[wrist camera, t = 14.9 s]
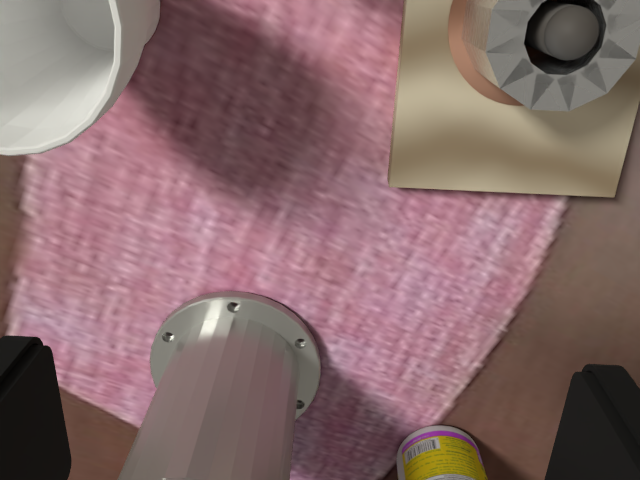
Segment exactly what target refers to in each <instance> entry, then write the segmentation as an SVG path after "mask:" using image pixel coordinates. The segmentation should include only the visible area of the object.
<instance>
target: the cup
mask: <svg viewBox="0 0 640 480" xmlns="http://www.w3.org/2000/svg"><path fill="white" fill-rule="evenodd" d="M159 18H160V0H0V154H1V155H7V156H15V155H27V154H39V153H44V152H46V151H49V150H52V149H54V148H57V147H59V146H62V145H65V144H67V143H70V142H72V141H73V140H74V139H75V138H77V137H78V136H79V135H80V134H82V133H83V132H84V131H86V130H87V129H88V128H89V127H91V126H92V125H93V124H94V123H96V122H97V121H98V120H99V119H100V118H101V117H102V116H103V115H104V114H105V113H106V112H107V111H108V110H109V109H110V108H111V107H112V106H113V105H114V103H115V102H116V100H117V99H118V97H119V96H120V94H121V93H122V91H123V90H124V88H125V87H126V86H127V84H128V82H129V81H130V79H131V77H132V75H133V73H134V71H135V69H136V68H137V66H138V63H139V60H140V57H141V54H142V51H143V48H144V45H145V44H146V43H147V42H148V41H149V40H150V38H151V37H152V35H153V34H154V32H155V30H156V27H157V24H158V21H159Z"/></svg>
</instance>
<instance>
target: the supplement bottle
mask: <svg viewBox="0 0 640 480" xmlns="http://www.w3.org/2000/svg"><path fill="white" fill-rule="evenodd" d="M396 462H397V473H398V480H488V479H487V476H486V473H485V469H484V466H483V463H482V459H481V456H480V453H479V450H478V448H477V445H476V444H475V442H474V441H473V439H472V438H471V437H470V436H469V435H468V434H466V433H465V432H463V431H462V430H460V429H457V428H455V427H451V426H443V425H436V426H428V427H424V428H421V429H419V430H417V431H415V432H413V433H412V434H410V435H409V436H408V437H407V438H406V439H405V440H404V441H403V442H402V444H401V445H400V447H399V449H398V452H397V459H396Z"/></svg>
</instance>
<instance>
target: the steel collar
mask: <svg viewBox="0 0 640 480" xmlns="http://www.w3.org/2000/svg"><path fill="white" fill-rule="evenodd" d="M544 1H546V0H467V2H466V7H465V15H464V22H463V30H462V41H463V43H464V46H465V48H466V51H467V53H468V55H469V58H470V60H471V63H472V65H473V68H474V69H475V70H476V71H477V72H479V73H480V74H481V75H483V76H484V77H485V78H487V79H488V80H489V81H491V82H492V83H493V84H494V85H496V86H497V87H498V88H500V89H501V90H503V91H504V92H506V93H507V94H509V95H510V96H511V97H513V98H514V99H516V100H517V101H519V102H520V103H521V104H523V105H524V106H526V107H527V108H529V109H530V110H550V111H571V110H573V109H575V108H577V107H579V106H581V105H584V104H586V103H588V102H590V101H592V100H594V99H596V98H598V97H601V96H603V95H605V94H607V93H608V92H609V91H610V89H611V88H612V87H613V86H614V85H615V83H616V82H617V81H618V80H619V79H620V78H621V76H622V75H623V74H624V73H625V72H626V70H627V69H628V68H629V67H630V66H631V64H632V63H633V62H634V61H635V60H636V57H637V53H638V49H639V45H640V0H557V2H560V3H566V4H572V5H578V6H582V7H585V8H587V9H589V10H590V11H591V12H592V13H593V14H594V15H595V16H596V18H597V21H598V24H599V35H598V39H597V41H596V43H595V45H594V46H593V48H592V49H591V50H590V51H589V52H588V53H587V54H585V55H584V56H582V57H580V58H578V59H574V60H561V59H558V58H555V57H553V56H550V55H548V54H546V53H543V52H540V53H538V54H536V55H534V56H532V57H529V56H528V54H527V51H526V48H525V46H524V40H525V34H526V29H527V23H528V21H529V19H530V18H531V17H532V15H533V14H534V13H535V11H536V10H537V8H538V7H539V6H540V4H541V3H542V2H544Z"/></svg>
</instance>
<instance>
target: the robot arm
mask: <svg viewBox="0 0 640 480" xmlns="http://www.w3.org/2000/svg"><path fill="white" fill-rule="evenodd" d="M233 302H235V303H236V304H235V303H233ZM150 368H151V375H152V378H153V381H154V384H155V387H156V388H157V389H156V392H155V394H154V396H153V399H152V401H151V403H150V406H149V408H148V410H147V413H146V415H145V417H144V420H143V422H142V424H141V427H140V429H139V431H138V434H137V436H136V438H135V441H134V443H133V445H132V448H131V450H130V452H129V455H128V457H127V459H126V462H125V464H124V466H123V469H122V471H121V473H120V476H119V478H118V480H290V471H291V460H292V449H293V439H294V428H295V420H296V419H297V418H298V417H300V416H301V415H302V414H303V413H304V412H305V411H306V410H307V408H308V407H309V406H310V404H311V403H312V401H313V400H314V397H315V395H316V393H317V390H318V388H319V382H320V376H321V360H320V355H319V349H318V347H317V344H316V342H315V340H314V337H313V335H312V334H311V332H310V331H309V329H308V328H307V327H306V325H305V324H304V323H303V322H302V321H301V320H300V319H299V318H298V317H297V316H296V315H295V314H294V313H293V312H291V311H290V310H288V309H287V308H285V307H284V306H282V305H281V304H279V303H277V302H275V301H273V300H270V299H268V298H266V297H263V296H259V295H255V294H252V293H247V292H236V291H225V292H214V293H210V294H206V295H202V296H198V297H196V298H194V299H192V300H190V301H187V302H185V303H184V304H182V305H181V306H180V307H178V308H177V309H175V310H174V311H173V312H172V313H171V314H170V315H169V316H168V317H167V318H166V320H165V321H164V322H163V323H162V325H161V327H160V329H159V331H158V333H157V334H156V337H155V339H154V342H153V344H152V347H151V354H150ZM70 469H71V454H70V448H69V443H68V437H67V432H66V426H65V421H64V415H63V409H62V404H61V398H60V393H59V387H58V381H57V376H56V370H55V365H54V359H53V354H52V350H51V348H50V347H49V346H43V343H42V341H41V340H40V338H38V337H25V336H3V337H2V338H1V339H0V480H67V479H68V477H69V473H70ZM545 480H640V389H639V388H638V386H637V385H636V384H635V382H634V381H633V379H632V378H631V377H630V375H629V374H628V372H627V371H626V370H625V369H624V368H623V367H622V366H617V365H597V364H588V365H586V366H585V367H584V368H583V370H582V372H575V373H574V374H573V377H572V379H571V383H570V387H569V390H568V394H567V398H566V402H565V405H564V409H563V413H562V417H561V420H560V424H559V428H558V432H557V435H556V439H555V443H554V446H553V450H552V454H551V458H550V461H549V465H548V469H547V473H546V476H545Z"/></svg>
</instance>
